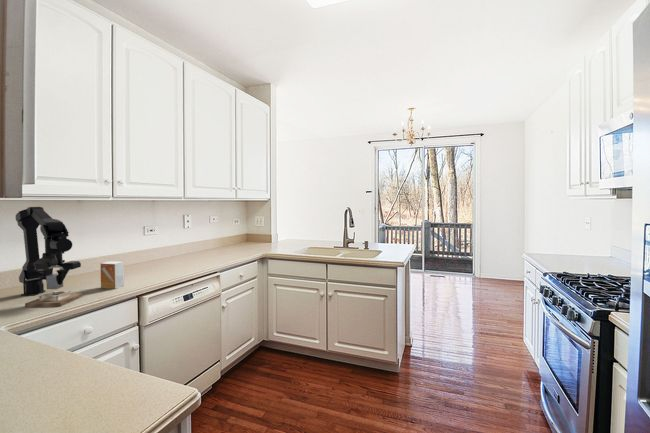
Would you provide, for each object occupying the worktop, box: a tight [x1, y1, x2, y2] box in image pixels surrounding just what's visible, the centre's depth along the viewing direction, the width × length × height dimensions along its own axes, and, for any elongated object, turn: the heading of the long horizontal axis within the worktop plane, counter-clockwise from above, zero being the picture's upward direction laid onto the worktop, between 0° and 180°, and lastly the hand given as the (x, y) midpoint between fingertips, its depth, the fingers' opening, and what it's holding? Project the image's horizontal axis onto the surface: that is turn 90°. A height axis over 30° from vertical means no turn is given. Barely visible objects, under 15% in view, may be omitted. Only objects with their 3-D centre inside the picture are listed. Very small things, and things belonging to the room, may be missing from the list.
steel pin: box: [45, 273, 64, 290], centre depth 139 cm, size 4×4×6 cm
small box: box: [100, 260, 125, 290], centre depth 162 cm, size 8×6×13 cm
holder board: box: [24, 290, 84, 308], centre depth 139 cm, size 14×14×4 cm
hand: (55, 284), depth 139 cm, fingers closed on steel pin, 4 cm apart
